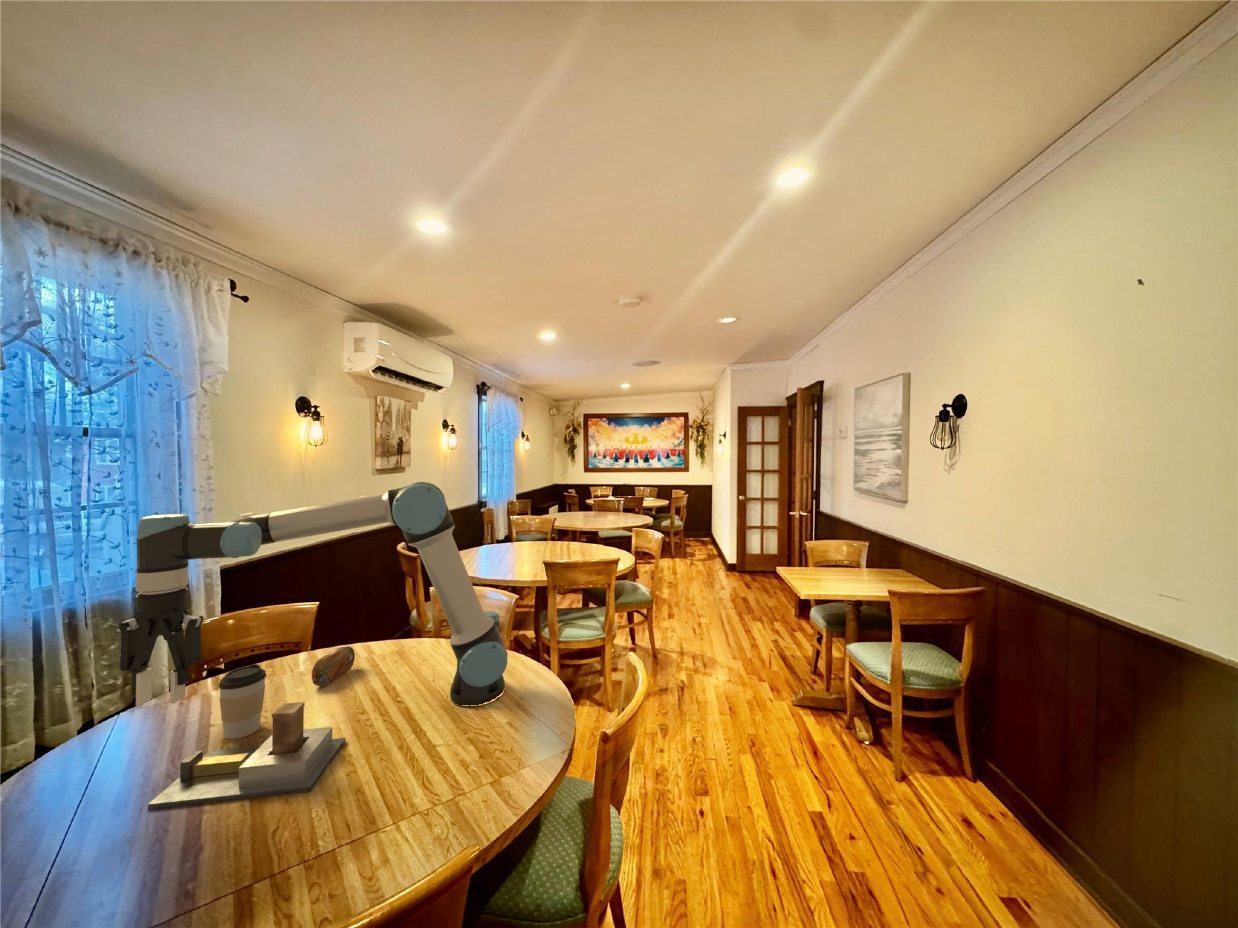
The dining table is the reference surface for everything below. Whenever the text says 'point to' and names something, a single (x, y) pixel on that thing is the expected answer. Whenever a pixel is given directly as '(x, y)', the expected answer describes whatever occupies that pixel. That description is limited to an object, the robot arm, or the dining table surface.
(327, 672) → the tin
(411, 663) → the dining table surface
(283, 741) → the peg
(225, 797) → the dock
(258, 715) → the coffee cup
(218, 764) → the pin
